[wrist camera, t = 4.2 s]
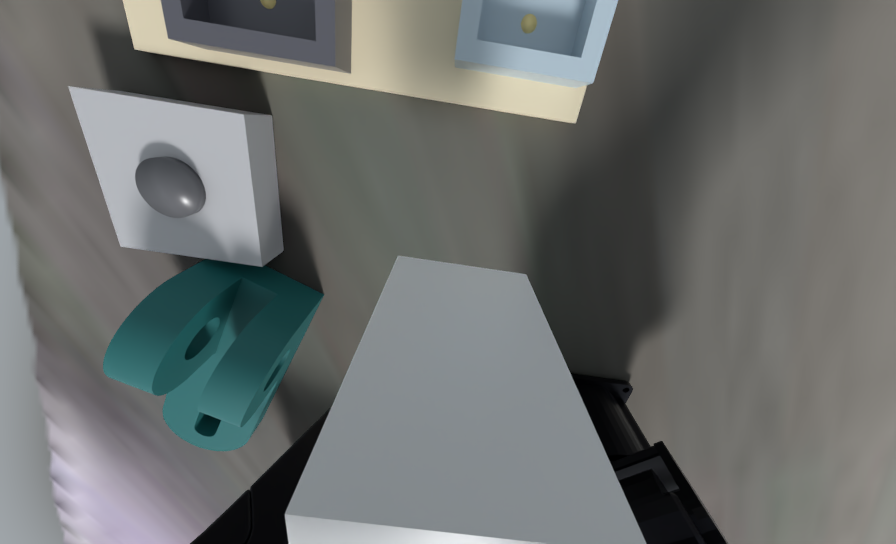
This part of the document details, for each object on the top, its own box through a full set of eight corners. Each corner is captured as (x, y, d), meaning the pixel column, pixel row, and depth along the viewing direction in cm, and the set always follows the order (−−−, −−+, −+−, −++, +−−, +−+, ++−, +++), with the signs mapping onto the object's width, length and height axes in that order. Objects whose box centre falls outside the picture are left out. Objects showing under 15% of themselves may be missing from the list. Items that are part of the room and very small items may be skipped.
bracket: (229, 245, 21) (110, 310, 14) (325, 293, 22) (262, 374, 15) (178, 408, 28) (81, 508, 21) (253, 437, 29) (187, 539, 22)
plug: (526, 274, 10) (651, 555, 3) (483, 421, 13) (510, 720, 6) (398, 255, 10) (284, 514, 3) (384, 409, 12) (311, 702, 6)
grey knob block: (272, 115, 17) (235, 114, 14) (283, 250, 21) (256, 271, 18) (120, 90, 17) (52, 84, 14) (158, 232, 20) (110, 250, 17)
